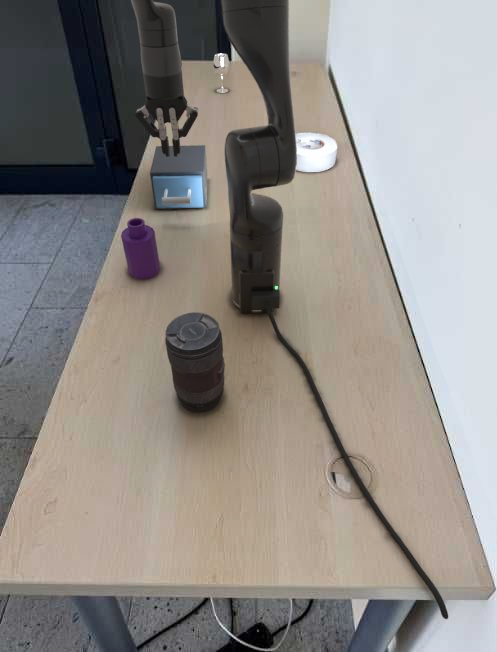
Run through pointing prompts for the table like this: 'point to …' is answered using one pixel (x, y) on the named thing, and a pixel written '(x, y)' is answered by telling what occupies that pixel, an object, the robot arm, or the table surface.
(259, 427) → the table surface
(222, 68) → the wineglass
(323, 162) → the tape roll
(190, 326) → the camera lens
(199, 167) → the grey cabinet
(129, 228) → the bottle
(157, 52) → the robot arm
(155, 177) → the drawer
